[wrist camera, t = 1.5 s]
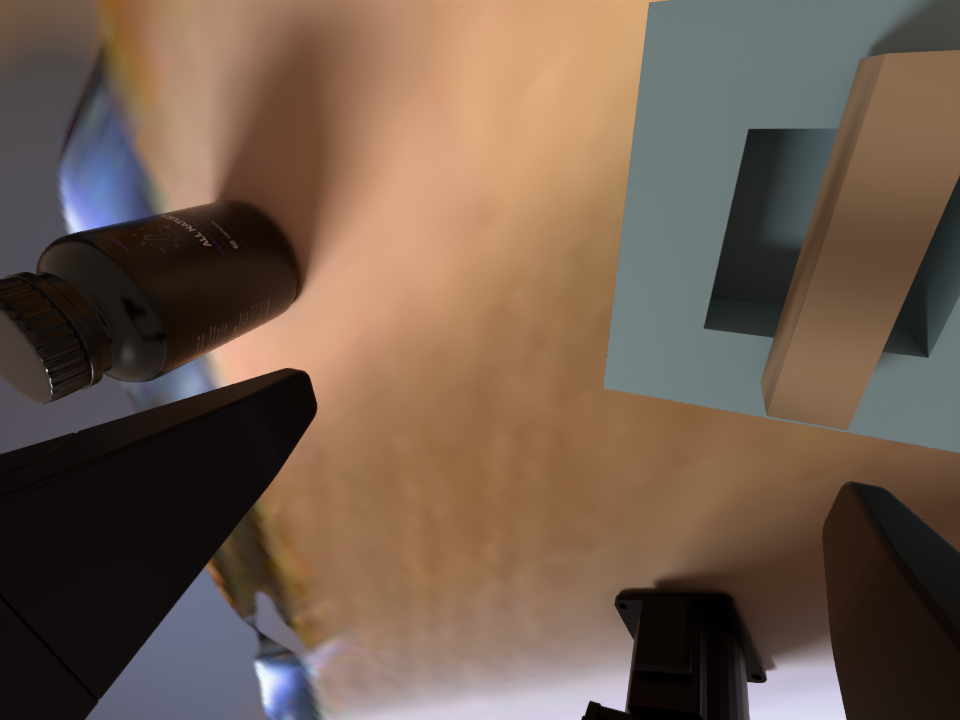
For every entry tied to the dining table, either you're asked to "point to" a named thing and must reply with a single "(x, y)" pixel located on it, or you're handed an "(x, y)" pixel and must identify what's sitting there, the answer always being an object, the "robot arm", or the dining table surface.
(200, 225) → the supplement bottle
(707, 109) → the socket
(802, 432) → the dining table surface
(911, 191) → the lock bar
